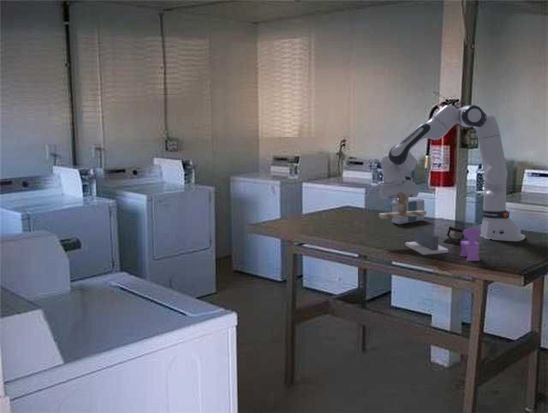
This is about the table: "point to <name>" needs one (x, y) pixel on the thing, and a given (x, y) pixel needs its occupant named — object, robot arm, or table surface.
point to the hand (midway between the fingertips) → (403, 203)
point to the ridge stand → (426, 243)
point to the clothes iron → (454, 240)
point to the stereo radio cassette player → (411, 206)
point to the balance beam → (402, 209)
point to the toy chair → (471, 244)
